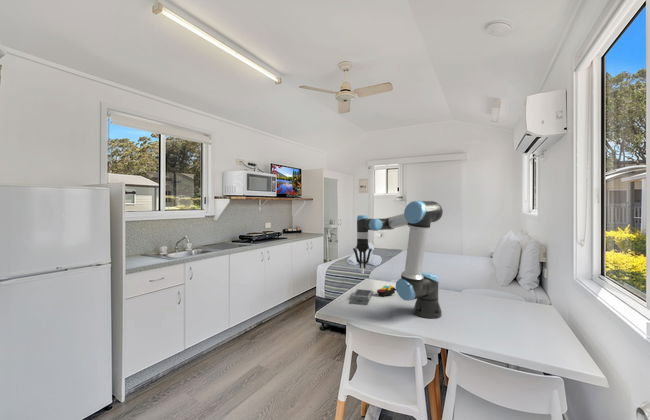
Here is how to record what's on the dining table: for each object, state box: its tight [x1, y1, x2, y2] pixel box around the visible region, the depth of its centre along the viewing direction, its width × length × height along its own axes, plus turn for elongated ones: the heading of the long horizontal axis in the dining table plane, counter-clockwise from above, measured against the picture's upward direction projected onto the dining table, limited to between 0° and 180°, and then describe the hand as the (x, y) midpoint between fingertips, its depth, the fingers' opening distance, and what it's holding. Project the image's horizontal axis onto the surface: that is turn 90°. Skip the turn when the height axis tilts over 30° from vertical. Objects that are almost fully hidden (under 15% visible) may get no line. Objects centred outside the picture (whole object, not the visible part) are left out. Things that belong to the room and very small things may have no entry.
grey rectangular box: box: [349, 288, 374, 306], centre depth 190 cm, size 28×11×3 cm, turn 162°
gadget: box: [376, 285, 397, 297], centre depth 195 cm, size 6×13×6 cm, turn 114°
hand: (362, 273), depth 191 cm, fingers closed
